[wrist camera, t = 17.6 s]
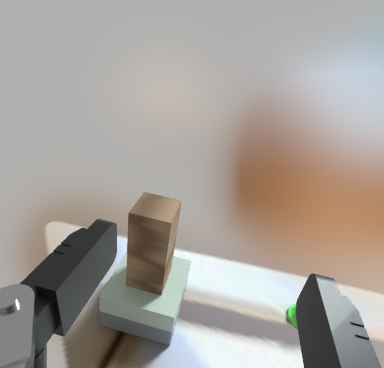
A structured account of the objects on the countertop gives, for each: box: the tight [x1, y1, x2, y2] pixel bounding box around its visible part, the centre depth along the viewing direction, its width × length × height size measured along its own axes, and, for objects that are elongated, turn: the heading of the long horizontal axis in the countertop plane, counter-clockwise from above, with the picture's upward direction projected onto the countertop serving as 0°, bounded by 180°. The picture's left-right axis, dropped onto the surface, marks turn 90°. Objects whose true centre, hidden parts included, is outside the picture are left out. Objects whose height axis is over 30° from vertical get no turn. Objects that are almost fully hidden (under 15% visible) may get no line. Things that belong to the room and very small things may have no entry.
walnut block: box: [126, 192, 181, 295], centre depth 33 cm, size 5×5×12 cm
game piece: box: [288, 304, 298, 329], centre depth 40 cm, size 4×4×6 cm
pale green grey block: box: [99, 252, 191, 346], centre depth 38 cm, size 10×10×6 cm
